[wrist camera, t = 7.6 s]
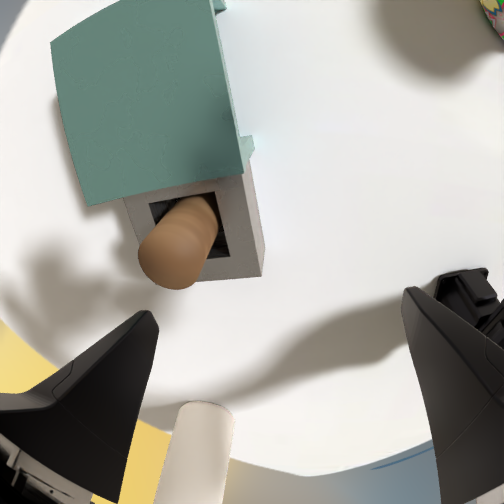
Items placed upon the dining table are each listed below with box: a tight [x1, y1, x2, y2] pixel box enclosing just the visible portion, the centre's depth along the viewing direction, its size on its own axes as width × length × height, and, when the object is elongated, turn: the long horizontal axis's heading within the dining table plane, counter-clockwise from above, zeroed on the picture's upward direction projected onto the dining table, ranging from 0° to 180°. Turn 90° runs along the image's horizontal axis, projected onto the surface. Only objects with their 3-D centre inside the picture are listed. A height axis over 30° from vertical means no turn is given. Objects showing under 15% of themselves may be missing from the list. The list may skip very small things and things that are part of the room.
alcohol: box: [153, 401, 235, 504], centre depth 25 cm, size 9×9×30 cm
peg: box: [138, 191, 222, 290], centre depth 18 cm, size 4×4×8 cm
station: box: [50, 0, 265, 285], centre depth 16 cm, size 19×10×6 cm, turn 10°
